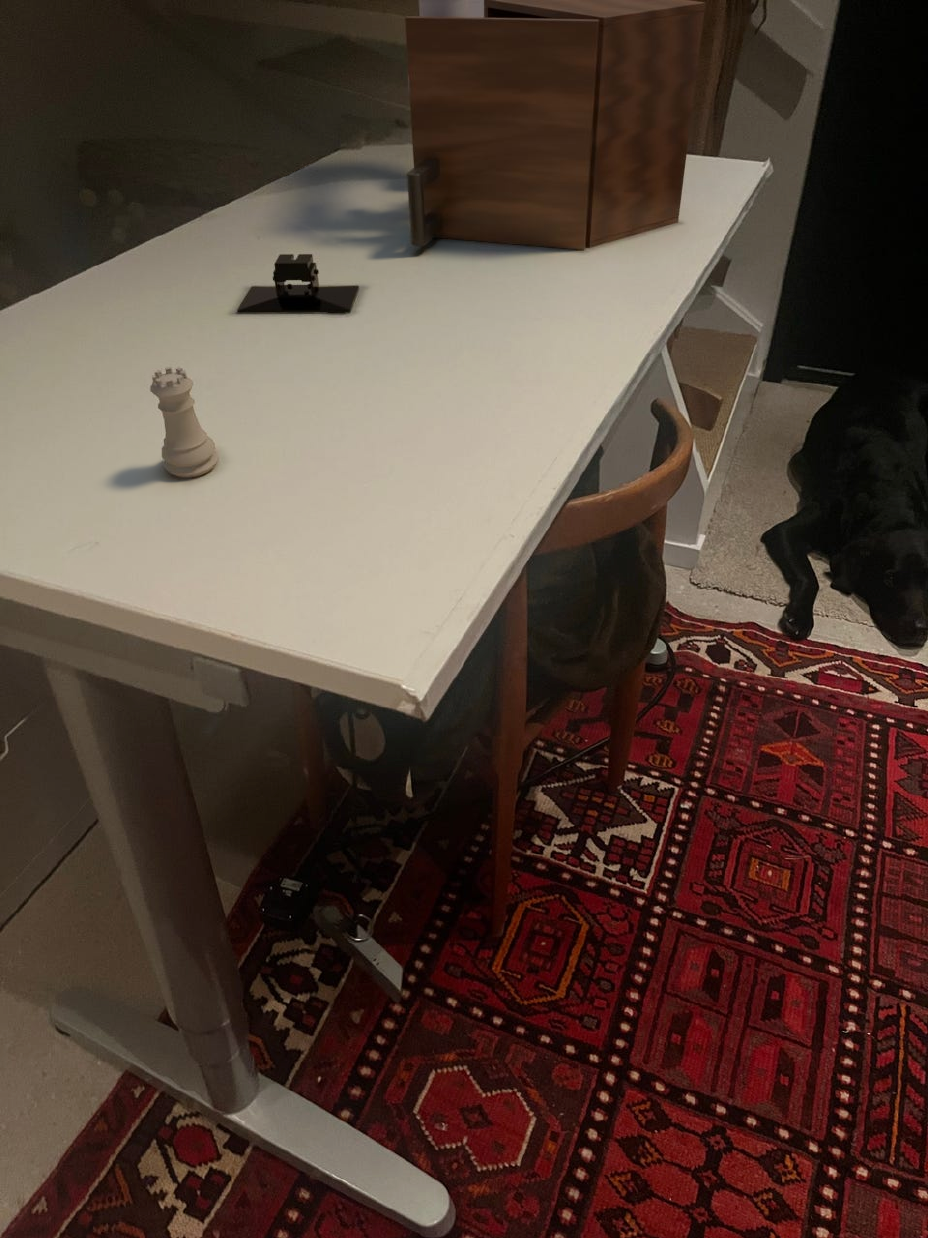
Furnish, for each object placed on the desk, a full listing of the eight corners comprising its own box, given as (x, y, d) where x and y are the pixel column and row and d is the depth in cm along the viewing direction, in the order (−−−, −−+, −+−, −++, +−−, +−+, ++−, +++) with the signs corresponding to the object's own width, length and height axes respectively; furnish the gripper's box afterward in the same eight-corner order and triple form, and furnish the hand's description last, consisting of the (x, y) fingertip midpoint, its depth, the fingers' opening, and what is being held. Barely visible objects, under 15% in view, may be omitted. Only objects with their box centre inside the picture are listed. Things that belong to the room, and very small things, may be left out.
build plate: (359, 289, 102) (355, 247, 98) (350, 315, 96) (345, 271, 93) (252, 288, 102) (244, 246, 99) (236, 314, 97) (228, 270, 94)
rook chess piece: (169, 452, 75) (144, 363, 70) (223, 449, 75) (202, 359, 70) (160, 481, 72) (133, 389, 66) (216, 477, 72) (194, 385, 66)
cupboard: (589, 248, 109) (604, 17, 94) (485, 206, 123) (483, -2, 107) (678, 222, 115) (705, 2, 100) (570, 185, 129) (579, -14, 113)
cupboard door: (570, 270, 103) (582, 31, 88) (397, 254, 109) (380, 27, 94) (585, 247, 109) (599, 19, 94) (420, 233, 115) (407, 15, 99)
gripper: (383, 35, 107) (393, 159, 116) (451, 51, 98) (455, 184, 107) (432, 28, 110) (438, 149, 119) (503, 43, 101) (503, 173, 110)
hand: (449, 165), depth 113 cm, fingers open, 4 cm apart
